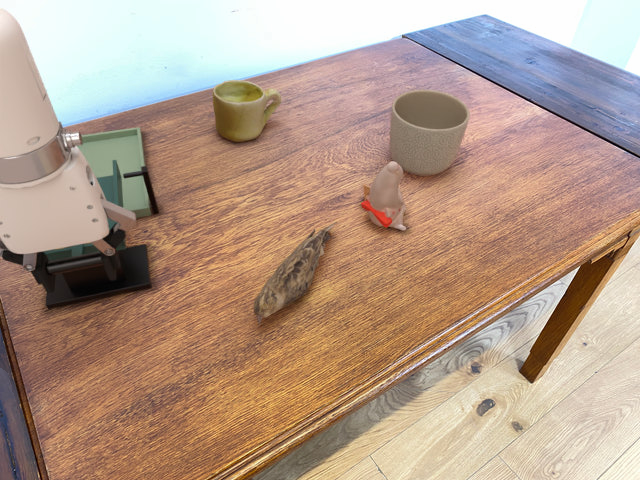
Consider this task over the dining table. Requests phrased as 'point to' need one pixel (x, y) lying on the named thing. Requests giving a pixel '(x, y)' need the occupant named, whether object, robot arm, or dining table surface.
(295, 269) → the bird model
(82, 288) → the stand
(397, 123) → the planter
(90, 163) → the tray
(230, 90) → the mug
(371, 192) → the figurine
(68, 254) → the scoop
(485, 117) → the dining table surface
